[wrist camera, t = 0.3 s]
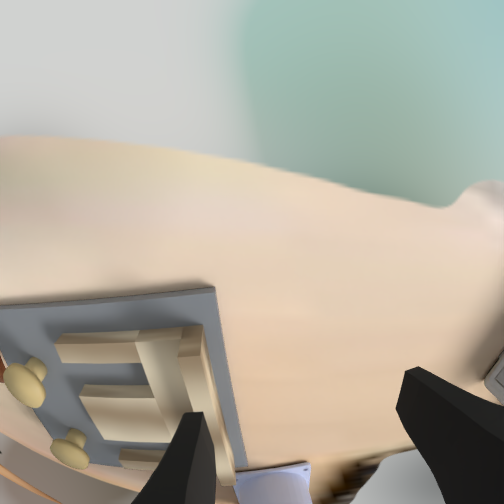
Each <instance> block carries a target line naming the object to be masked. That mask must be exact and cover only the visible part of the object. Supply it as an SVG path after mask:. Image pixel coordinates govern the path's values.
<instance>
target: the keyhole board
mask: <svg viewBox="0 0 504 504" xmlns="http://www.w3.org/2000/svg"><path fill="white" fill-rule="evenodd" d="M194 325H203V327H204V332H205V337H206V342H207V347H208V351H209V356H210V361H211V365H212V370H213V374H214V379H215V383H216V388H217V392H218V396H219V400H220V405H221V409H222V413H223V417H224V421H225V425H226V429H227V432H228V436H229V440H230V444H231V447H232V451H233V455H234V463H235V467H245V466H248V463H247V457H246V452H245V448H244V443H243V438H242V434H241V429H240V424H239V419H238V414H237V409H236V404H235V399H234V394H233V389H232V384H231V378H230V373H229V368H228V362H227V356H226V351H225V345H224V339H223V334H222V328H221V322H220V316H219V309H218V303H217V297H216V290H215V287H210V288H201V289H192V290H183V291H174V292H164V293H154V294H144V295H134V296H124V297H113V298H101V299H90V300H77V301H64V302H50V303H36V304H20V305H2V306H0V350H1V352H2V354H3V356H4V359H5V361H6V363H7V365H8V367H7V369H6V370H5V371H4V373H3V379H4V382H5V385H6V386H7V388H8V390H9V391H10V392H11V394H12V395H13V396H14V397H15V398H16V399H17V400H19V401H20V402H21V403H23V404H24V405H26V406H29V407H32V409H33V410H34V412H35V413H36V415H37V416H38V418H39V420H40V421H41V422H42V424H43V425H44V427H45V428H46V430H47V431H48V433H49V434H50V435H51V437H52V438H53V439H54V440H53V442H52V445H51V447H50V450H51V452H52V454H53V455H54V456H55V457H56V458H57V459H58V460H60V461H61V462H62V463H64V464H66V465H68V466H70V467H73V468H76V469H86V468H87V467H88V464H89V463H93V464H100V465H107V466H116V467H123V466H122V464H121V463H120V462H119V460H118V459H119V455H120V451H121V448H122V449H137V450H167V448H168V446H169V444H170V443H155V442H129V441H114V440H104V438H103V437H102V435H101V433H100V432H99V430H98V429H97V427H96V425H95V424H94V422H93V420H92V419H91V417H90V415H89V414H88V412H87V410H86V408H85V407H84V405H83V403H82V401H81V399H80V398H79V395H80V393H81V391H82V389H83V387H84V385H85V384H88V385H150V384H149V382H148V379H147V376H146V374H145V371H144V368H143V365H142V363H107V364H93V363H62V361H61V359H60V357H59V355H58V352H57V350H56V348H55V345H54V343H55V342H56V341H57V339H58V338H59V337H60V336H61V335H62V333H94V332H116V331H133V330H148V329H161V328H173V327H184V326H194Z"/></svg>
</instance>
